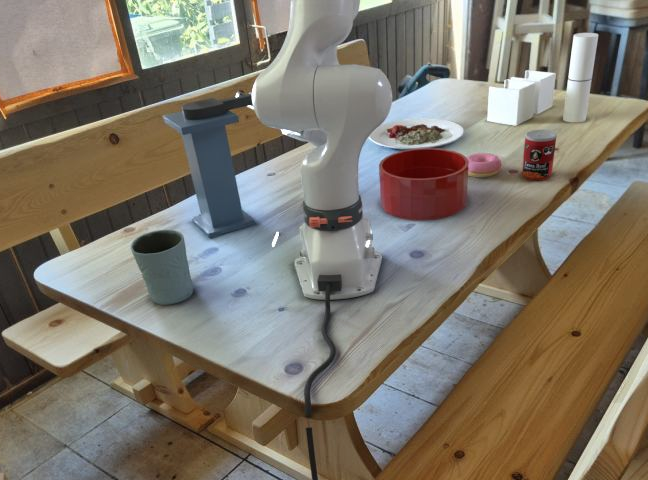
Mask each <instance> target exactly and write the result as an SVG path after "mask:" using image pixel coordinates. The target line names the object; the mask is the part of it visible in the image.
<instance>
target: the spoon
mask: <svg viewBox="0 0 648 480" xmlns="http://www.w3.org/2000/svg"><path fill="white" fill-rule="evenodd" d="M246 94H247V95H242V96H237V97H236V96H233V97H229V98H224V99H216V98H214V97H211V98H206V99H201V100H196V101H191V102H187V103H185V104H183V105H182V106H181V112H183V116H184V118H185V119H187V120H200V119H205V118H210V117H214V116H219V115H223V114H226V111H227V110H229V111H231V110H235V109H239V108H240V109H241V108H245V107H247V106H249V105H252V93H251V94H249V93H246Z"/></svg>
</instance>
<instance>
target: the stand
mask: <svg viewBox="0 0 648 480" xmlns="http://www.w3.org/2000/svg"><path fill="white" fill-rule="evenodd" d="M162 119H163V122H164V123H165V124H166V125H167V126H169V127H170V128H172V129H173V130H175V131H176V132H178V133H179V134H180V135H181V139H182V143H183V147H184V151H185V155H186V160H187V162H188V163H187V164H188V167H189V171H190V175H191V176H190V177H191V180H192V184H193V187H194V191H195V196H196V201H197V204H198V209H199V212H200V214H199V215H196V216H192V217H191V221H192V223H193V224H194V225H195V226H196V227H197V228H198V229H199V230H200V231H202V233H204V235H205V236H207V238H209V239H211V238H215V237H218V236H222V235H224V234H227V233H231V232H234V231H237V230H240V229H241V230H242V229H244V228H247V227H250V226H254V225H256V219H254V218H253V217H252V216H251V215H249V213H247V211H244V210H243V208H242V207H243V206H242V203H241V198H240V193H239V189H238V183H237V178H236V173H235V168H234V163H233V159H232V153H231V147H230V142H229V138H228V132H227V128H226V126H229V125H232V124H236V123H239V122H240V119H239V115H238V114H236V113H235V112H233V111H231V110H227V111H226V114H223V115H219V116H214V117H210V118H205V119H200V120H187V119H185V118H184V116H183V112H182V111H179V112H172V113H168V114H164V115H162Z"/></svg>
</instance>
